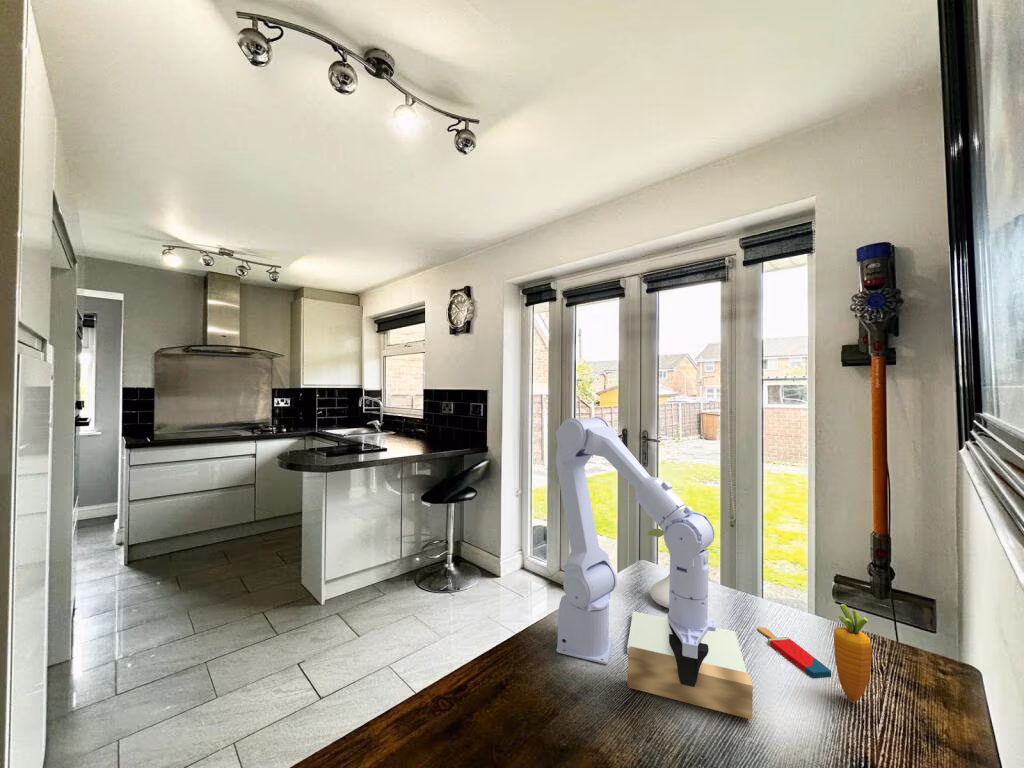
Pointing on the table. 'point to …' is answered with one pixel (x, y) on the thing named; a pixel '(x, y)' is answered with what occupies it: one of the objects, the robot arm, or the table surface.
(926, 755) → the table surface
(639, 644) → the balance stand
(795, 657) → the popsicle
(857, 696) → the carrot
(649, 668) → the wooden block
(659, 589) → the flower in vase
